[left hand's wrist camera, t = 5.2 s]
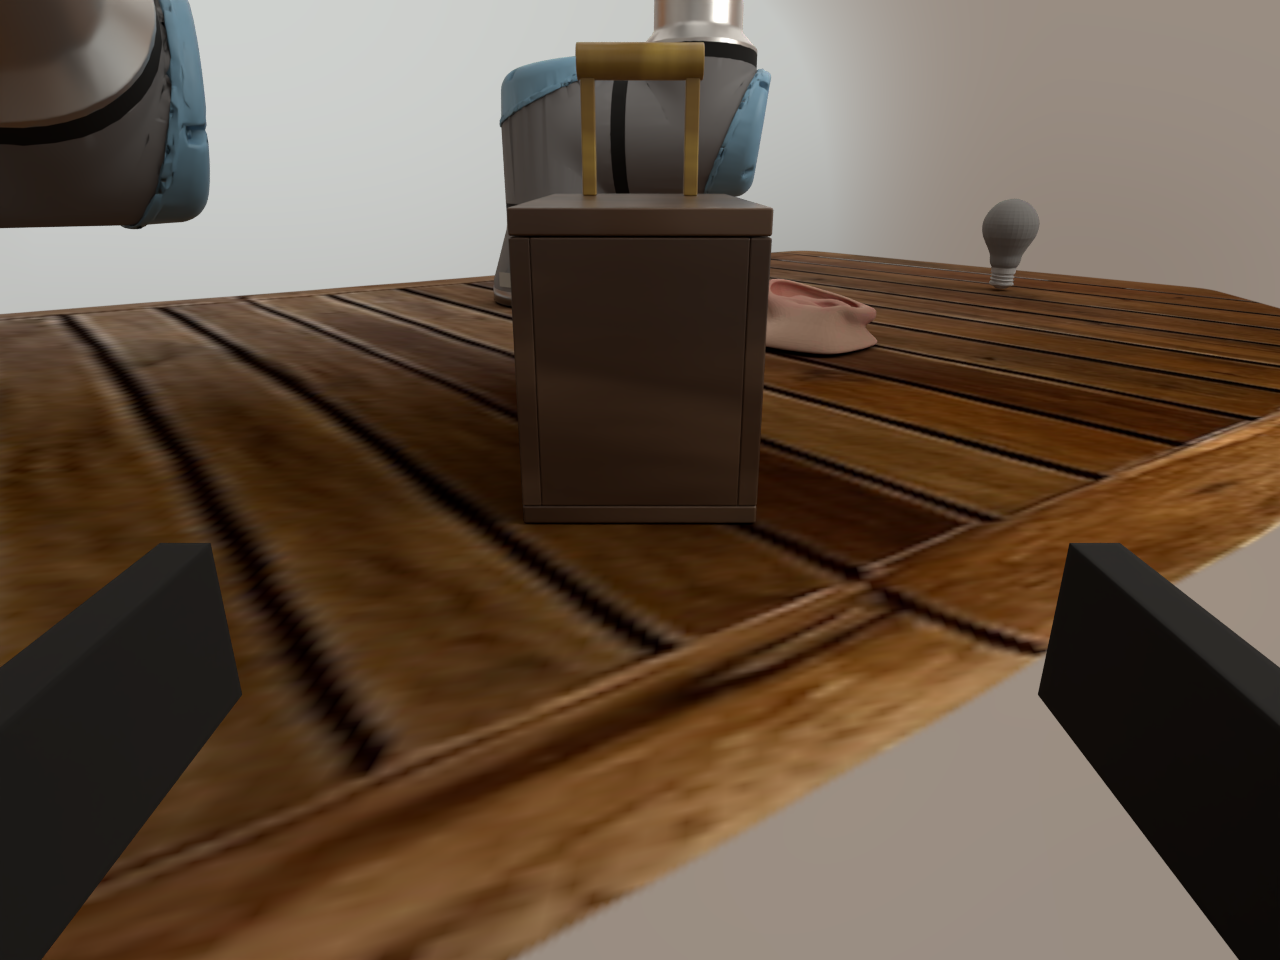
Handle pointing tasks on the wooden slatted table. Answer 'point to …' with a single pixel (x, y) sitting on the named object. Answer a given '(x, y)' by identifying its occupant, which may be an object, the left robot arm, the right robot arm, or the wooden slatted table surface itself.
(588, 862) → the wooden slatted table surface
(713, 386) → the chest
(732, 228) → the lid
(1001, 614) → the wooden slatted table surface
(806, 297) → the anatomical model
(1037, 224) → the light bulb
